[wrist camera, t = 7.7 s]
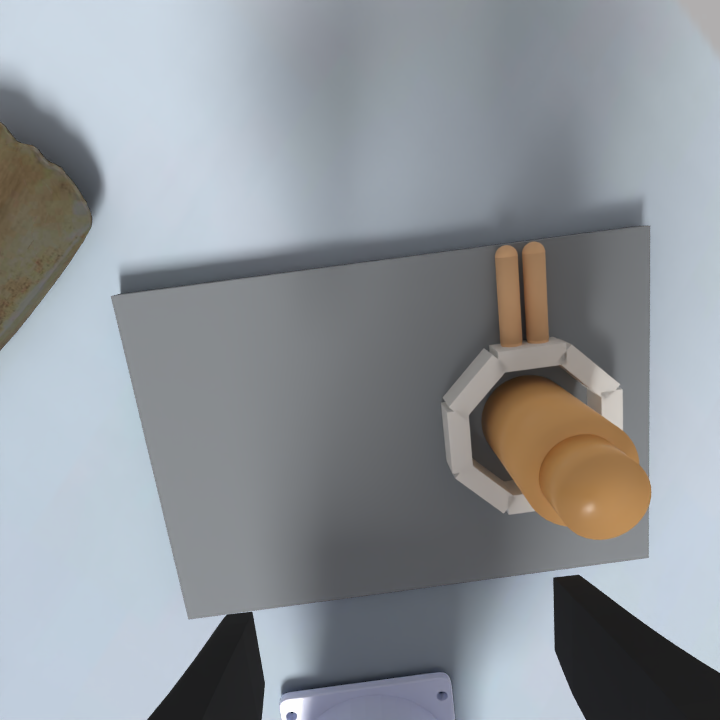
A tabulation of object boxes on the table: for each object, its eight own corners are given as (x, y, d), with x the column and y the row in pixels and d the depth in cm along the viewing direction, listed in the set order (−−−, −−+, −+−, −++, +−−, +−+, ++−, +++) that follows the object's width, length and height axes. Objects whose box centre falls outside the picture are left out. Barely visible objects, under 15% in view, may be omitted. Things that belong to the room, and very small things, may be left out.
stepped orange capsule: (572, 454, 21) (668, 547, 15) (484, 465, 21) (543, 562, 15) (569, 369, 20) (670, 429, 14) (478, 380, 20) (537, 446, 14)
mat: (638, 547, 23) (665, 575, 21) (193, 606, 23) (180, 640, 21) (637, 225, 20) (669, 225, 18) (120, 293, 20) (95, 300, 18)
